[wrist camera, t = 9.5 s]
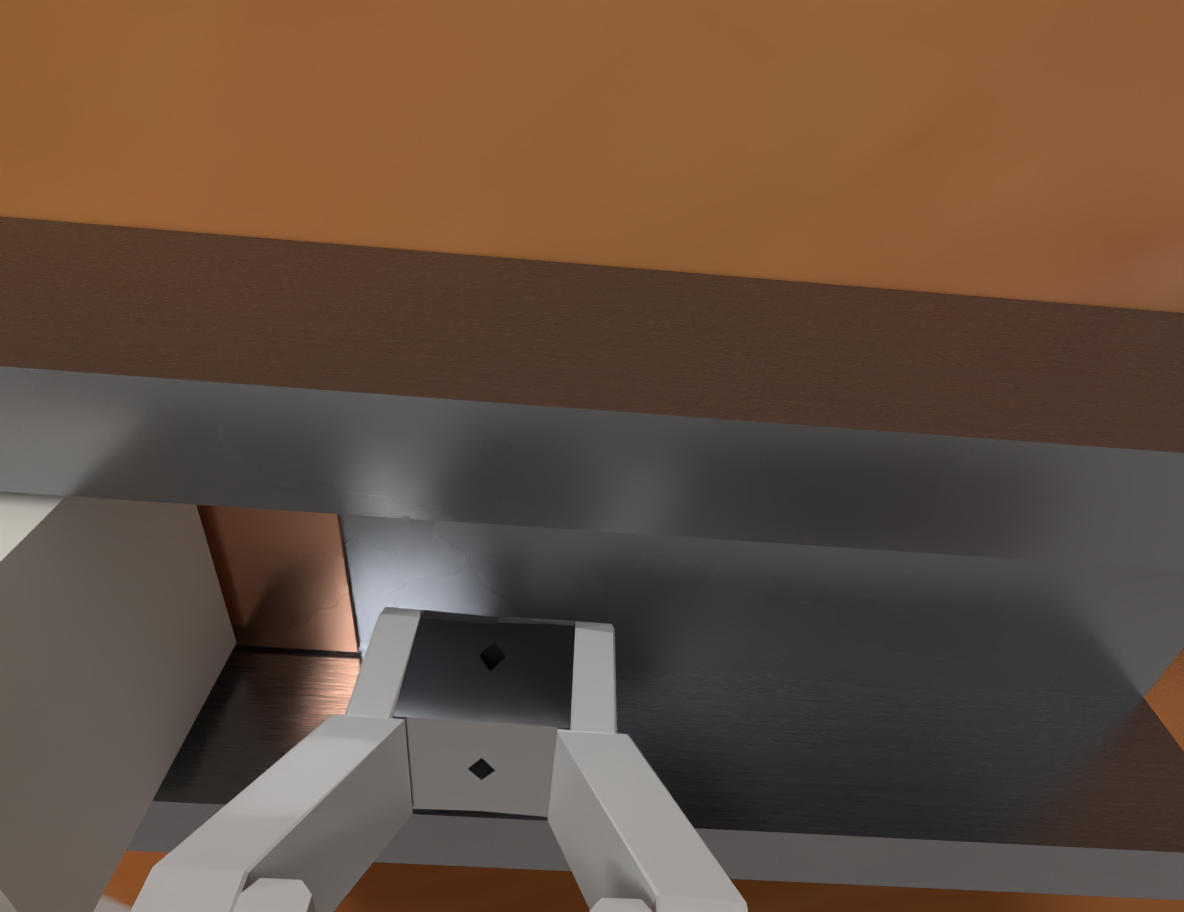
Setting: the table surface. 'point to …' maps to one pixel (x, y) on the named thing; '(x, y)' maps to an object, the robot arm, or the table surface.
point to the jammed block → (95, 681)
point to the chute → (657, 530)
